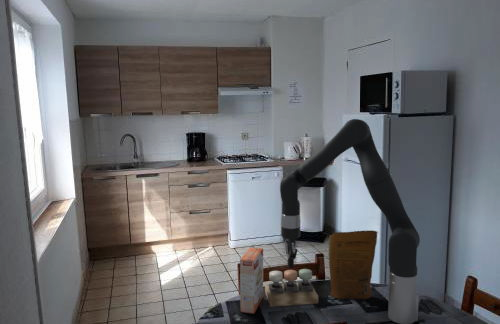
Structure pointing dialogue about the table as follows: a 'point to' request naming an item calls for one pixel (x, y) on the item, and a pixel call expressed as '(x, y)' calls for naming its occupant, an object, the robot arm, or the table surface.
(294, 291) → the tan slotted panel
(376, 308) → the table surface
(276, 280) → the white round piece
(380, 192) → the robot arm
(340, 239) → the pancake mix bag
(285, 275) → the peach ball
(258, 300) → the cracker box
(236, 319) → the table surface
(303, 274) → the pale green ball
